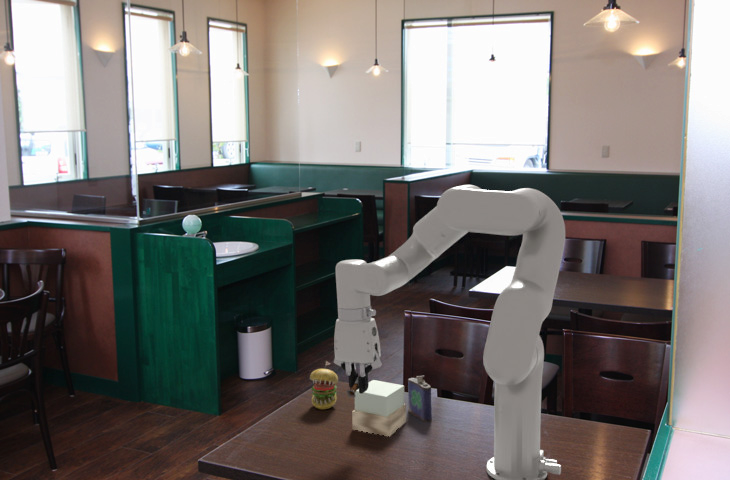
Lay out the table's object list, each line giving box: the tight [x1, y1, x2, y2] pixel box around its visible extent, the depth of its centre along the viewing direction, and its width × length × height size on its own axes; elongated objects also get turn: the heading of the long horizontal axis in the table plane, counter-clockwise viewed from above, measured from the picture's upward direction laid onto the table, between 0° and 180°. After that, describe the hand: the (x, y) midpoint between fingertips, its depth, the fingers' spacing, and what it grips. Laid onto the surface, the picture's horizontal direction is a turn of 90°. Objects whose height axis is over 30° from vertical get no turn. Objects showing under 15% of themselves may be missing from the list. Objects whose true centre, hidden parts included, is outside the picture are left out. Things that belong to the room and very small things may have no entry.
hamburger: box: [309, 360, 339, 410], centre depth 186 cm, size 8×7×12 cm
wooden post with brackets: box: [346, 378, 369, 398], centre depth 162 cm, size 2×8×4 cm, turn 152°
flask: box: [407, 375, 433, 423], centre depth 179 cm, size 9×3×11 cm, turn 28°
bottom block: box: [351, 403, 407, 438], centre depth 173 cm, size 10×10×5 cm
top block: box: [354, 379, 405, 417], centre depth 173 cm, size 9×9×5 cm
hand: (359, 390), depth 162 cm, fingers closed on wooden post with brackets, 1 cm apart
